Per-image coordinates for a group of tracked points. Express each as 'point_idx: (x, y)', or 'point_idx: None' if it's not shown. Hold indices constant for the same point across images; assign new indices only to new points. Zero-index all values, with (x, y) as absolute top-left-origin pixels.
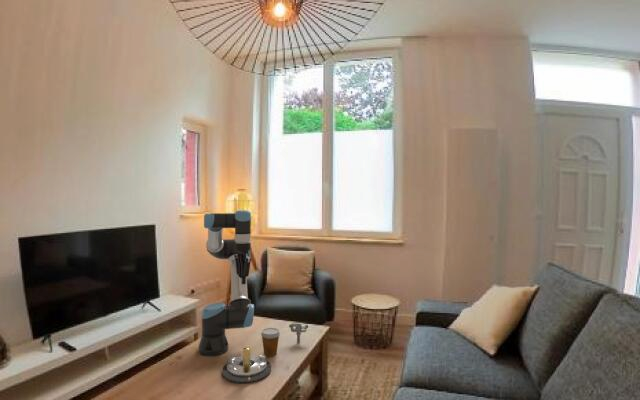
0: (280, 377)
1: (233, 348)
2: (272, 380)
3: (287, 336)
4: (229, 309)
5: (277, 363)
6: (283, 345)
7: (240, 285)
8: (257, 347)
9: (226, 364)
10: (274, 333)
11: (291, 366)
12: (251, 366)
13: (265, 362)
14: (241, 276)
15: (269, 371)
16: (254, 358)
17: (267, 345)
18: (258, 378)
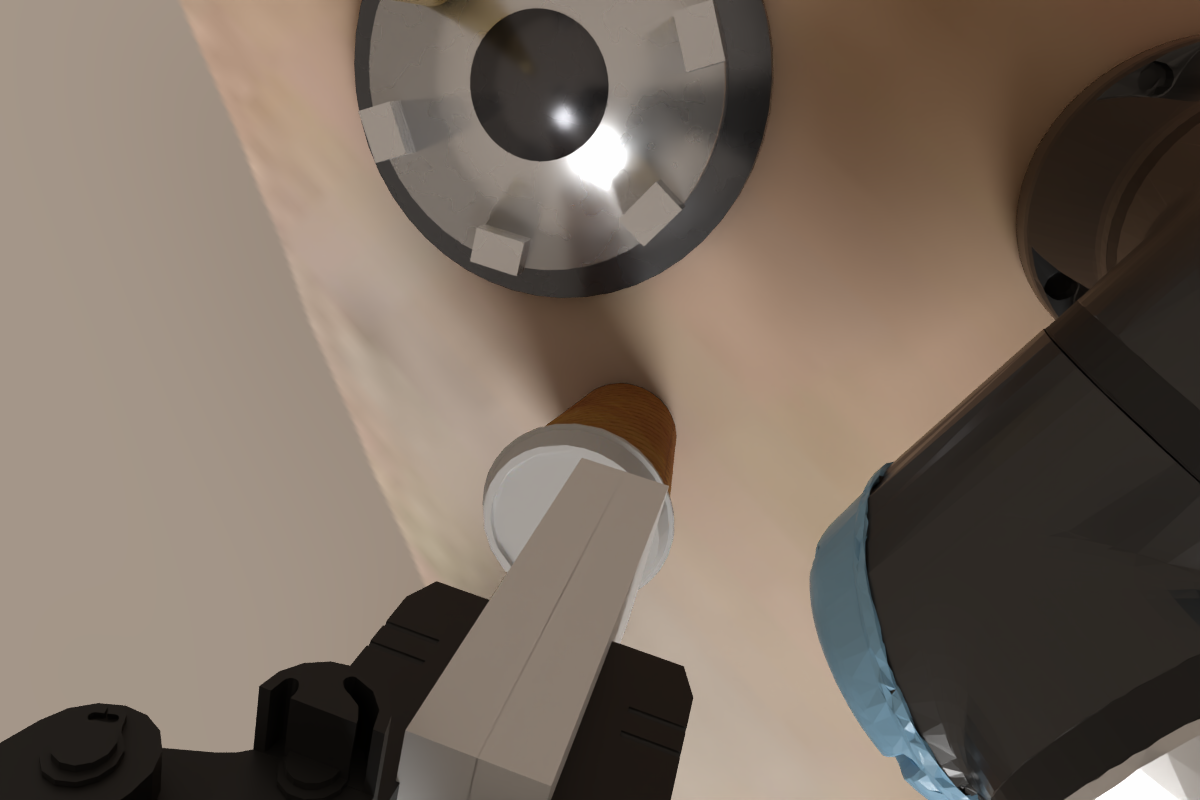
0: (298, 178)
1: (1005, 347)
2: (306, 105)
3: (741, 760)
4: (1156, 464)
5: (468, 339)
6: (650, 612)
7: (546, 540)
8: (811, 480)
9: (755, 7)
10: (507, 509)
11: (359, 359)
12: (461, 65)
13: (428, 202)
14: (302, 761)
15: (380, 168)
16: (555, 202)
17: (573, 411)
18: (360, 23)
